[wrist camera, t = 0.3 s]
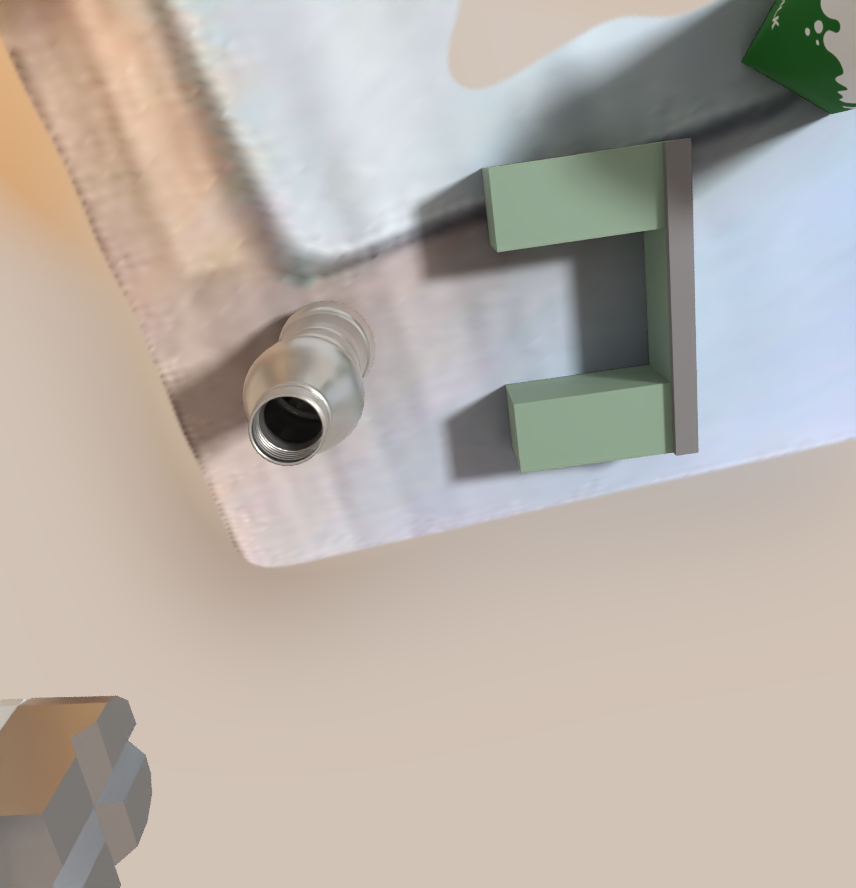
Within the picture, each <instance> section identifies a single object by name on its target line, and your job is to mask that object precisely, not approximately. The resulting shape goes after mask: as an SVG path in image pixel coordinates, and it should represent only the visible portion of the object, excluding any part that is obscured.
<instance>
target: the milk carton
mask: <svg viewBox="0 0 856 888" xmlns="http://www.w3.org/2000/svg"><path fill="white" fill-rule="evenodd" d="M742 62H743V63H745V64H747V65H748V66H750V67H752V68H753V69H755V70H757V71H759V72H760V73H762V74H764V75H765V76H767V77H769V78H770V79H772V80H774V81H776V82H777V83H779V84H781V85H782V86H784V87H786V88H788V89H789V90H791V91H793V92H794V93H796V94H798V95H800V96H801V97H803V98H805V99H806V100H808V101H810V102H812V103H813V104H815V105H817V106H818V107H820V108H822V109H823V110H825V111H827V112H829V113H830V114H834V113H838V112H843V111H847V110H851V109H856V0H776V1H775V3H774V4H773V6H772V8H771V10H770V11H769V13H768V15H767V17H766V19H765V20H764V22H763V24H762V26H761V28H760V29H759V31H758V33H757V35H756V36H755V38H754V40H753V42H752V44H751V45H750V47H749V49H748V51H747V53H746V54H745V56H744V58H743V60H742Z"/></svg>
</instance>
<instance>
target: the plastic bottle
mask: <svg viewBox="0 0 856 888" xmlns="http://www.w3.org/2000/svg"><path fill="white" fill-rule="evenodd" d="M374 356H375V342H374V336H373V333H372V331H371V328H370V326H369V325H368V323H367V322H366V320H365V319H364V318H363V317H362V316H361V315H360V314H359V313H358V312H357V311H356V310H354V309H353V308H352V307H350V306H348V305H345V304H343V303H339V302H335V301H320V302H314V303H311V304H308V305H306V306H303V307H302V308H300V309H299V310H297V311H296V312H295V313H294V314H293V315H292V316H290V317H289V319H288V320H287V321H286V323H285V324H284V326H283V328H282V331H281V333H280V336H279V341H278V343H276V344H274V345H273V346H271V347H270V348H268V349H267V350H266V351H264V352H263V353H262V354H261V355H260V356H259V357H258V358H257V359H256V360H255V361H254V363H253V364H252V366H251V367H250V369H249V371H248V373H247V376H246V378H245V381H244V386H243V406H244V410H245V414H246V417H247V420H248V422H249V426H248V431H249V437H250V441H251V443H252V445H253V447H254V449H255V450H256V451H257V453H258V454H259V455H261V456H262V457H263V458H264V459H266V460H267V461H269V462H272V463H274V464H277V465H282V466H292V465H298V464H301V463H304V462H306V461H307V460H309V459H311V458H312V457H313V456H314V455H315V454H318V453H321V452H323V451H326V450H329V449H331V448H333V447H334V446H336V445H338V444H339V443H341V442H342V441H343V440H344V439H345V438H347V437H348V436H349V435H350V434H351V432H352V431H353V430H354V428H355V427H356V426H357V424H358V421H359V419H360V417H361V415H362V411H363V407H364V384H363V379H364V378H365V376H366V375H367V374H368V372H369V370H370V368H371V366H372V364H373V360H374Z"/></svg>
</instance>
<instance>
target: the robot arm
mask: <svg viewBox="0 0 856 888" xmlns="http://www.w3.org/2000/svg"><path fill="white" fill-rule="evenodd" d="M135 725H136V722H135V719H134V716H133V713H132V711H131V708H130V705H129V702H128V700H126V699H123V698H121V697H118V696H94V697H93V696H92V697H55V698H54V697H53V698H31V699H9V700H0V888H120V886H121V883H120V881H119V877H118V874H117V871H116V868H115V865H117V864H118V863H119V862H120V861H121V860H122V859H123V858H125V857H126V856H127V855H128V854H129V853H130V852H131V851H132V850H134V849H135V848H136V847H137V846H138V844H139V841H140V838H141V836H142V834H143V831H144V828H145V826H146V824H147V820H148V814H149V808H150V802H151V796H152V787H151V773H150V769H149V765H148V762H147V758H146V755H145V754H144V753H143V752H141V751H140V750H139V749H138V748H137V747H135V746H134V745H133V744H132V743H131V742H129V741H128V739H129V737H130V735H131V733H132V731H133V729H134V727H135Z"/></svg>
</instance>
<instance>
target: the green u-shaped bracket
mask: <svg viewBox="0 0 856 888" xmlns="http://www.w3.org/2000/svg"><path fill="white" fill-rule="evenodd" d="M482 177H483V186H484V195H485V204H486V213H487V222H488V231H489V240H490V246H491V247H492V248H493V249H495V250H496V251H497V252H504V251H510V250H517V249H524V248H531V247H538V246H545V245H552V244H558V243H565V242H572V241H579V240H586V239H593V238H600V237H606V236H613V235H620V234H627V233H634V232H641V231H643V234H644V257H645V279H646V302H647V324H648V347H649V365H643V366H635V367H628V368H621V369H614V370H607V371H600V372H593V373H586V374H578V375H571V376H564V377H557V378H550V379H543V380H536V381H529V382H521V383H514V384H507V385H506V394H507V403H508V413H509V422H510V431H511V440H512V449H513V451H514V454H515V457H516V460H517V463H518V466H519V468H520V471H521V473H527V472H534V471H541V470H549V469H556V468H563V467H571V466H578V465H585V464H593V463H600V462H607V461H615V460H622V459H629V458H637V457H644V456H651V455H659V454H666V453H674V454H675V455H684V454H691V453H698V413H697V370H696V326H695V283H694V239H693V195H692V152H691V138H686V139H678V140H669V141H661V142H654V143H648V144H641V145H634V146H628V147H621V148H614V149H607V150H601V151H594V152H587V153H581V154H574V155H567V156H561V157H554V158H547V159H541V160H534V161H527V162H521V163H514V164H507V165H500V166H494V167H487V168H482Z"/></svg>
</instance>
